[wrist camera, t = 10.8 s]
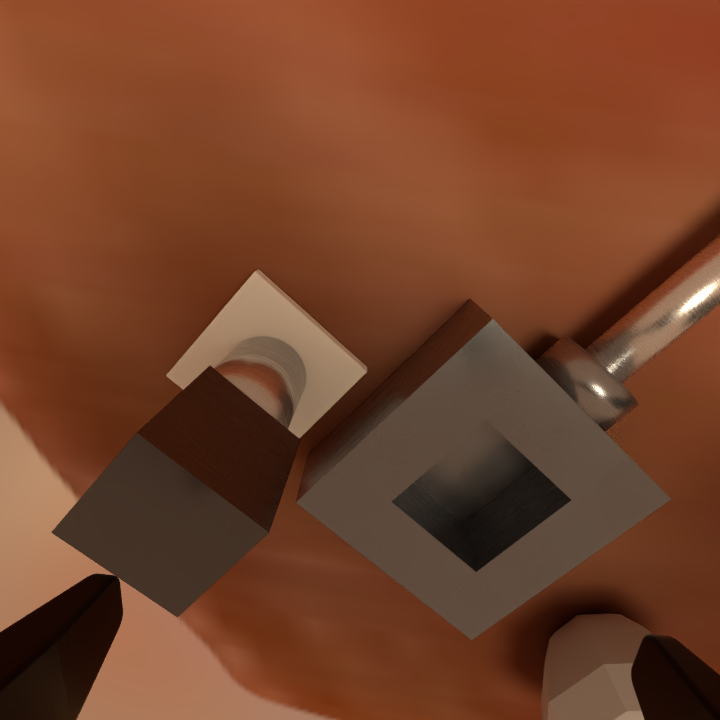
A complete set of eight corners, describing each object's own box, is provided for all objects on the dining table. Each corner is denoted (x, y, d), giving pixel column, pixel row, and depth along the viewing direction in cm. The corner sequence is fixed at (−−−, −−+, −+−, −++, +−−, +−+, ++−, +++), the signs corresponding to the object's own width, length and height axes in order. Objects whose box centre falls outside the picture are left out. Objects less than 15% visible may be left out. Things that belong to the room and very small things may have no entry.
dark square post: (323, 374, 18) (269, 532, 9) (271, 427, 19) (177, 617, 10) (259, 319, 18) (136, 432, 9) (209, 376, 19) (51, 532, 10)
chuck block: (833, 289, 17) (945, 309, 14) (456, 576, 22) (472, 642, 19) (685, 92, 15) (773, 58, 12) (308, 455, 20) (295, 504, 17)
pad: (367, 367, 19) (367, 371, 18) (277, 455, 20) (274, 462, 20) (258, 269, 18) (254, 270, 17) (171, 371, 19) (165, 375, 19)
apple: (552, 562, 22) (624, 700, 16) (695, 603, 23) (817, 751, 16) (488, 671, 24) (528, 829, 18) (618, 706, 25) (699, 869, 19)
